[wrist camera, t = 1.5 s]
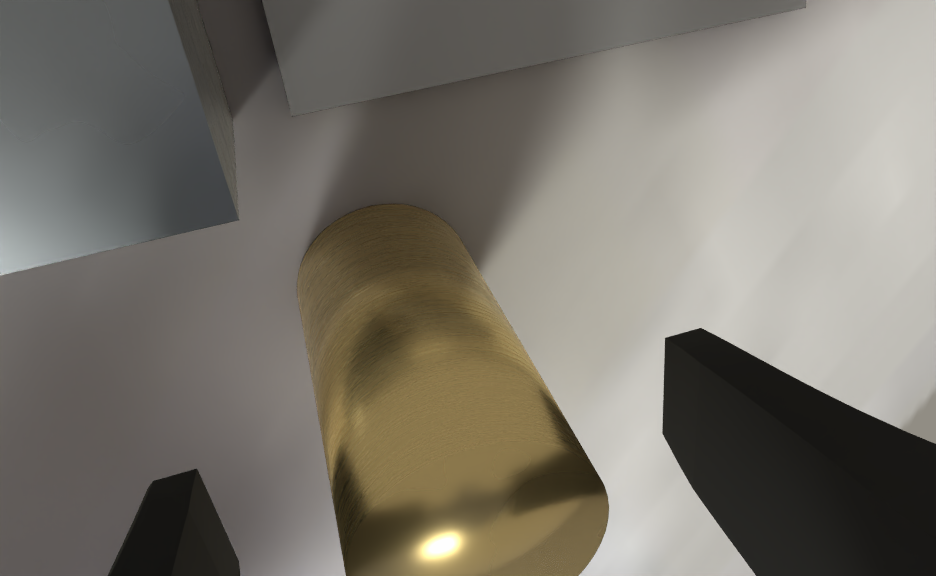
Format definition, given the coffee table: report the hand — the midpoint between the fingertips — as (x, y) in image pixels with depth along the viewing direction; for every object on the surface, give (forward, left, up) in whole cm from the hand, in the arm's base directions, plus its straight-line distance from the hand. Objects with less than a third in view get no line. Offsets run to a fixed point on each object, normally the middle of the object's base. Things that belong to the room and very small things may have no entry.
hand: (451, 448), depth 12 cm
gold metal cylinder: (0, 0, -5) cm, 5 cm away
